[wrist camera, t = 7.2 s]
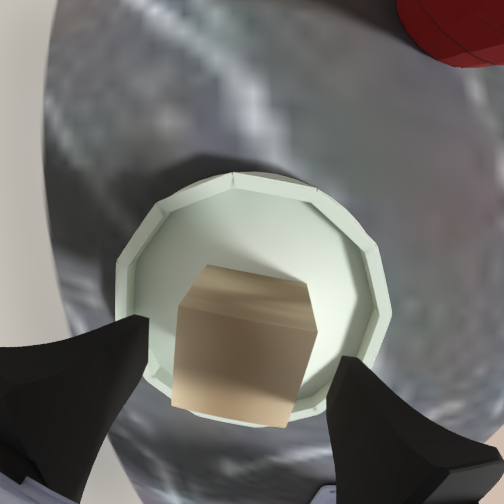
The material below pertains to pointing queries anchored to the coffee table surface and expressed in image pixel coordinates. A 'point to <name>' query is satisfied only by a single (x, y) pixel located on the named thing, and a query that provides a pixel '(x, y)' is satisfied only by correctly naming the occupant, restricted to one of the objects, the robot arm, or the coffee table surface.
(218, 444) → the coffee table surface
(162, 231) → the celadon dish
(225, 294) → the birch block
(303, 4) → the coffee table surface
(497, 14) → the plastic cup
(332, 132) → the coffee table surface
